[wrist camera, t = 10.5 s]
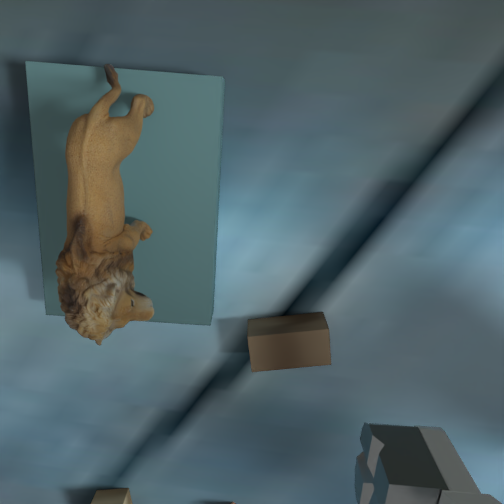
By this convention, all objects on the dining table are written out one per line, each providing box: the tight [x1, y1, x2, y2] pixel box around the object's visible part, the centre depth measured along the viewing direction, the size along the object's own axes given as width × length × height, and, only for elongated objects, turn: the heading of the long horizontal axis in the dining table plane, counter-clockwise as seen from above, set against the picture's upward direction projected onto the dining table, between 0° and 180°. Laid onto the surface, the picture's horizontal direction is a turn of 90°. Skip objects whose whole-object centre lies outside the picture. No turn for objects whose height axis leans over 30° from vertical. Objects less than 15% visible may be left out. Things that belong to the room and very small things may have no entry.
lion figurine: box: [55, 64, 154, 345], centre depth 23 cm, size 15×5×9 cm, turn 3°
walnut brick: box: [247, 312, 331, 372], centre depth 32 cm, size 6×3×3 cm, turn 96°
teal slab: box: [25, 61, 225, 326], centre depth 29 cm, size 12×17×2 cm
